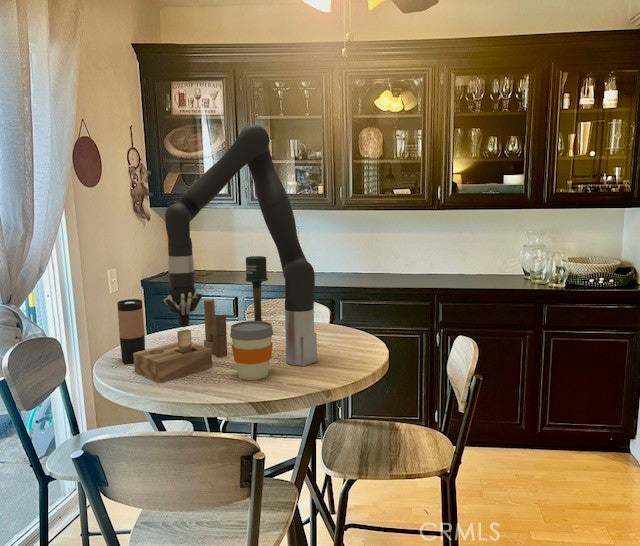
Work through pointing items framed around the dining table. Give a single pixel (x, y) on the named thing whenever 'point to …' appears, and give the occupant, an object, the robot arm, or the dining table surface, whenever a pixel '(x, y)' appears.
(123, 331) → the travel mug
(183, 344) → the peg
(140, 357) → the seat block
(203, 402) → the dining table surface
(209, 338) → the wooden block
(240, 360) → the reusable coffee cup
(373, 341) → the dining table surface
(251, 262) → the potato masher grenade
